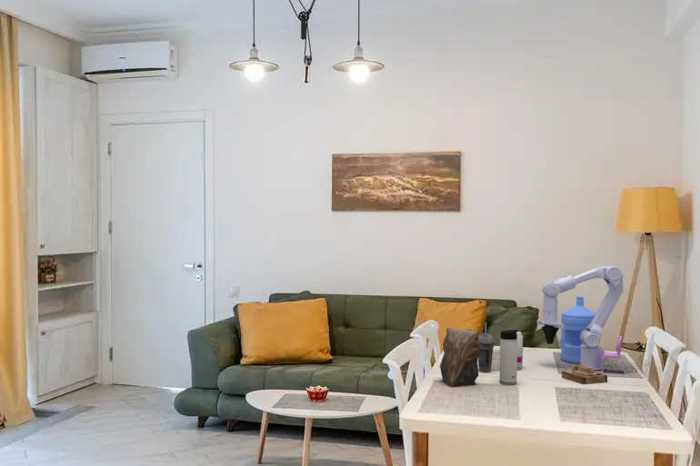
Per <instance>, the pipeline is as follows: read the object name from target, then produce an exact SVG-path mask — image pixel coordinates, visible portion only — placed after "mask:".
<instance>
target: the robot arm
mask: <svg viewBox="0 0 700 466" xmlns="http://www.w3.org/2000/svg"><path fill="white" fill-rule="evenodd" d="M593 279H603V280H604V281H605V283H606V285H607V288H608V290H607V292H606V295H605V296H604V298H603V300H602V302H601V304H600V305H599V307H598V309H597V311H596V312H595V313H596V314H595V316H594V318H593V320H592V322H591V323H590V324H589V325H588V326H587V328H586V329H585V330H584V331H582V332H581V334H580V340H581V342H582V344H581V356H580V364H579V365H584V366H588V367H592V368H594V371H600V370H601V371H603V370H602V364H603V369H604V370H607V367H606V358H604V359H603V363H602V356H603V355H604V352H605V349H604V348H603V347H601V346H599V345H600V344H601V338H602V335H603V330H604V327H605V325H606V323H607V322H608V319H609V318H610V316H611V314H612V312H613V310H614V308H615V307H616V305H617V303H618V302H619V300H620V297H621V296H622V294H623V293H624V273H623V272H622V270H621V269H620V267H618V266H616V265H611V264H604V265H603V266H602V265H601V266H598V267H597V266H596V267H594V268H591V269H590V270H587V271H584V272H582V273H580V274H577V275H574V276H573V275H570V274H568V275H567V274H564V275H563V276H562V277H560V278H558V279H555V278H554V279H552V281H547V282H545V283H544V284H543V286H542V288H541V292H542V293H543V300H542V301H543V303H542V305H543V306H542V309H543V310H542V314H543V315H542V319H537V320H536V324H537V325H542V326H541V330H542V332H543V334H544V336H545V340H546V344H548V345H552V344H554V341H555V337H556V335H557V333H558V331H559V330H561V329H564V324H562V323H561V322H559V321H558V295H559V293H560V294H563V293H565V292H568V291H570V290H574V289H575V288H576V286H577V285H578V284H581V283H584V282H587V281H590V280H593Z"/></svg>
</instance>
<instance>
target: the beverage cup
mask: <svg viewBox="0 0 700 466" xmlns="http://www.w3.org/2000/svg"><path fill="white" fill-rule="evenodd" d="M484 323H485V324H484V332H482V333H479V335H478V341H479V345H480V346H479V347H480V348H479V351H480V354H479V357H478V360H477V362H478V372H480V373H491V372H492V363H493V354H494V347H495V343H496V342H495V340H494V337H493V335H492V334H491V333H489V332H487V322H486V321H485V322H484Z"/></svg>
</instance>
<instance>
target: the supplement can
mask: <svg viewBox="0 0 700 466" xmlns="http://www.w3.org/2000/svg"><path fill="white" fill-rule="evenodd" d="M523 338H524V336H523V334H522V332H521V331H518V332H517V371H521V370H522V368H523V359H524V357H523V356H524V355H523V351H524V350H523V349H524V348H523V347H524V346H523V345H524V344H523V343H524V342H523V340H524V339H523Z"/></svg>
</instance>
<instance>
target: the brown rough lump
mask: <svg viewBox="0 0 700 466" xmlns="http://www.w3.org/2000/svg"><path fill="white" fill-rule="evenodd" d="M479 335H480V331H479V330H477V331H476V330H472V329H470V328H465V329H462V328H459V329H458V328H453V327H446V335H445V337H444V339H443V343H442V350H443V355H442V358H441V362H440V364H439V368H440V369H439V370H440V374H441V379H442V380H441V381H442V382H443V383H444V384H446V385H447V386H448V387H450V388H458V387H468V386H475V385H477V383H476V380H477V378H478V377H479V364H478V357H479V354H480V351H479V348H480V347H479V346H480V345H479V341H478V336H479Z"/></svg>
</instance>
